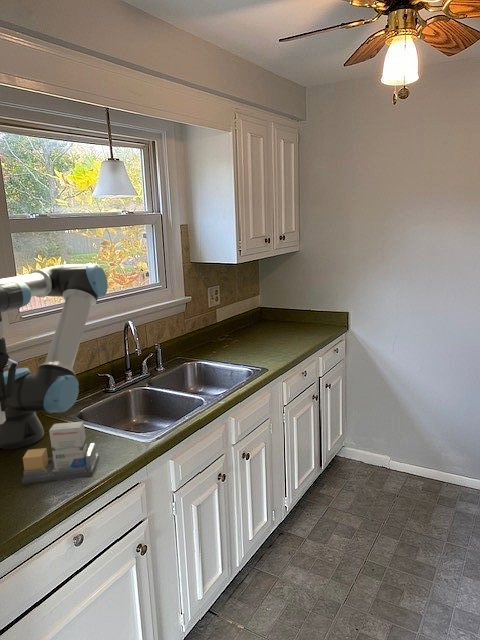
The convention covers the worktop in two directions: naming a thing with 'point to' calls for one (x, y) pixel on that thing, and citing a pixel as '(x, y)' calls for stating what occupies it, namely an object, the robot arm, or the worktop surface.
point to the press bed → (63, 470)
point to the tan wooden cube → (35, 459)
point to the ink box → (68, 444)
